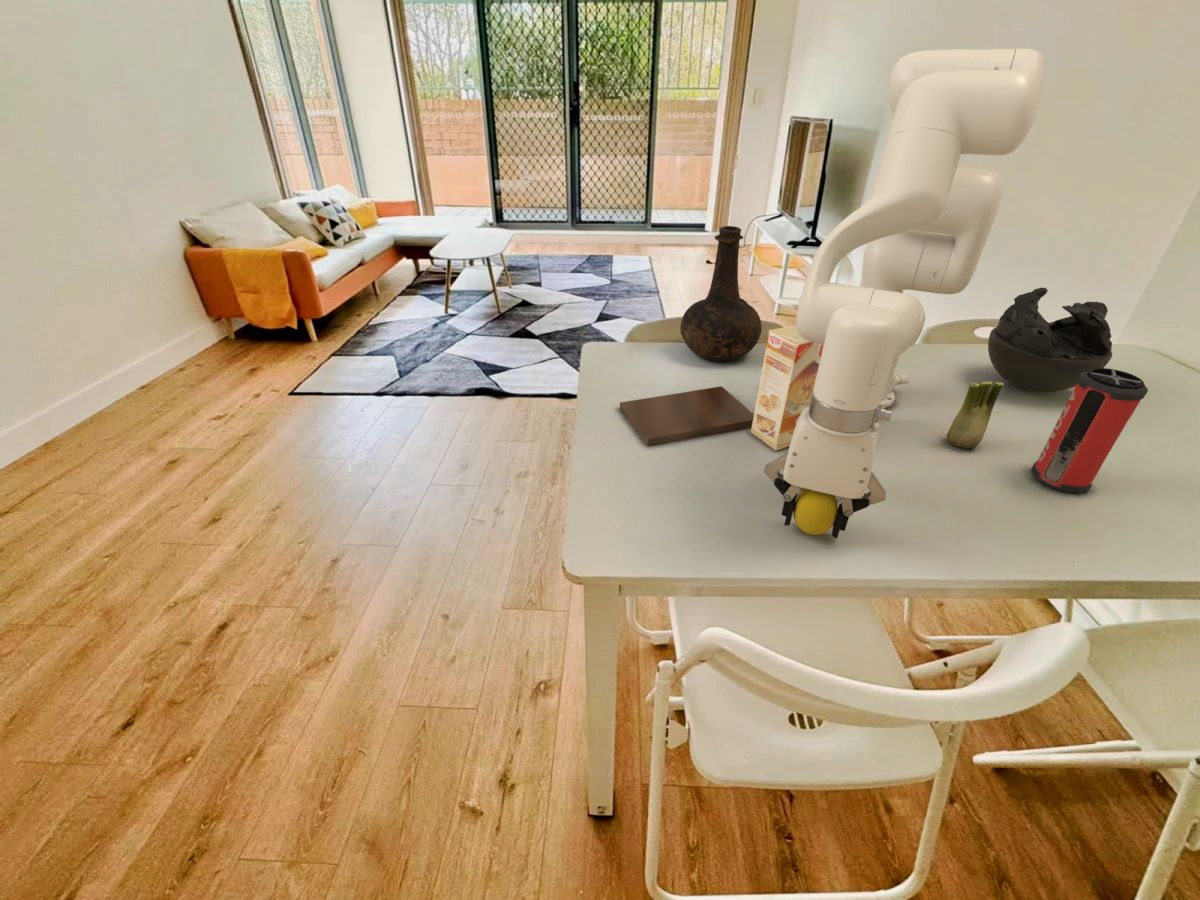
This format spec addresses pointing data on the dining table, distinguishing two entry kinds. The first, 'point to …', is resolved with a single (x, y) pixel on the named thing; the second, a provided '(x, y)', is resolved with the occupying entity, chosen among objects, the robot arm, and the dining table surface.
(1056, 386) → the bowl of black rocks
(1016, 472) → the dining table surface
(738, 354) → the glass bottle
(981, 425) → the fennel bulb
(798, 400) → the coffeecake box
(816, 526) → the lemon
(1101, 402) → the speaker
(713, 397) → the cutting board
